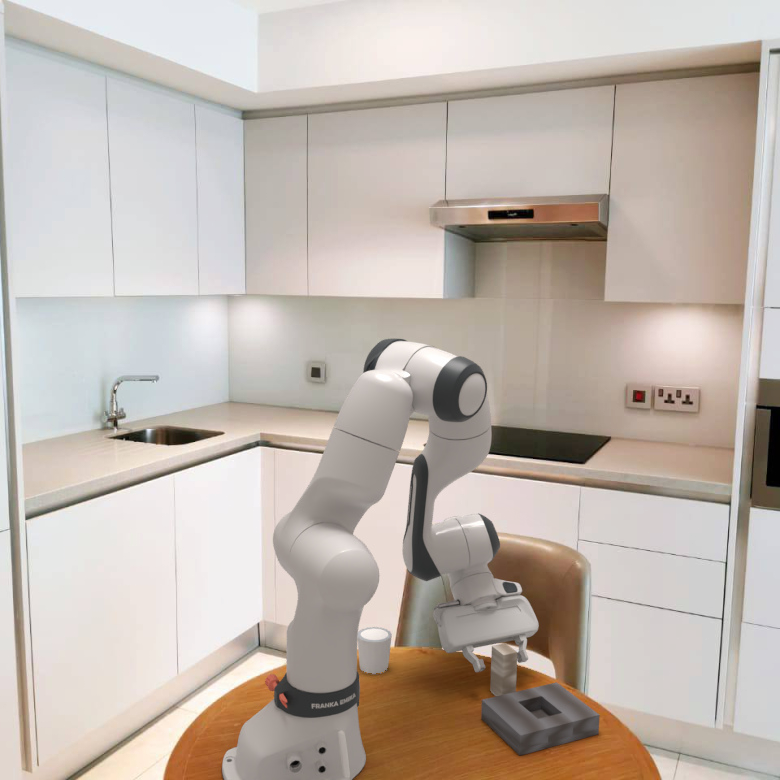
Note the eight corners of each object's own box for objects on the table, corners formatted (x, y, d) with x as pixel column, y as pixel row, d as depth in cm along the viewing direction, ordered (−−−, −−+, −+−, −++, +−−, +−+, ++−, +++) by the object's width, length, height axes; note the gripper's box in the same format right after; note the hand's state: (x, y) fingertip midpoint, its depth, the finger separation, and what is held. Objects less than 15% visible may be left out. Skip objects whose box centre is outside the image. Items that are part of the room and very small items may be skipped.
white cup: (390, 659, 159) (391, 626, 158) (391, 675, 152) (392, 641, 151) (356, 659, 159) (357, 626, 158) (356, 675, 152) (356, 641, 151)
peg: (501, 701, 143) (503, 655, 142) (490, 691, 147) (491, 645, 146) (515, 698, 144) (517, 652, 143) (503, 688, 148) (505, 643, 147)
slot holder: (519, 755, 127) (520, 735, 126) (481, 718, 137) (481, 699, 137) (598, 734, 133) (599, 714, 133) (555, 700, 144) (556, 682, 144)
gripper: (435, 597, 146) (460, 670, 139) (526, 582, 155) (554, 650, 147) (424, 611, 151) (447, 682, 143) (513, 596, 159) (539, 662, 152)
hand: (502, 666), depth 145 cm, fingers open, 8 cm apart
